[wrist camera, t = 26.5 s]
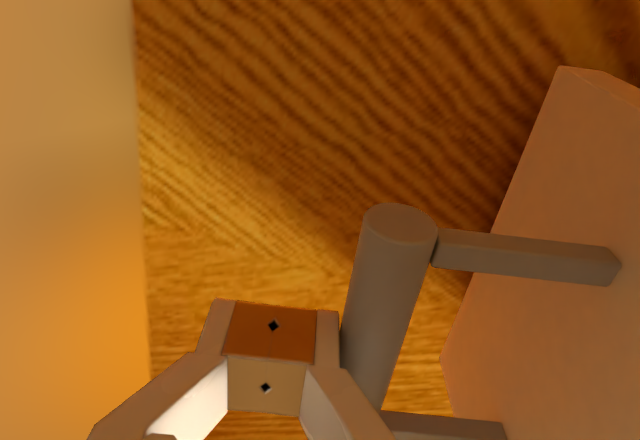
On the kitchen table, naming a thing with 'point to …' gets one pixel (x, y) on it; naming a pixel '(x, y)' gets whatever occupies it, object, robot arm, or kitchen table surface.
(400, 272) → the wooden pull-out drawer
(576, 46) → the kitchen table surface
